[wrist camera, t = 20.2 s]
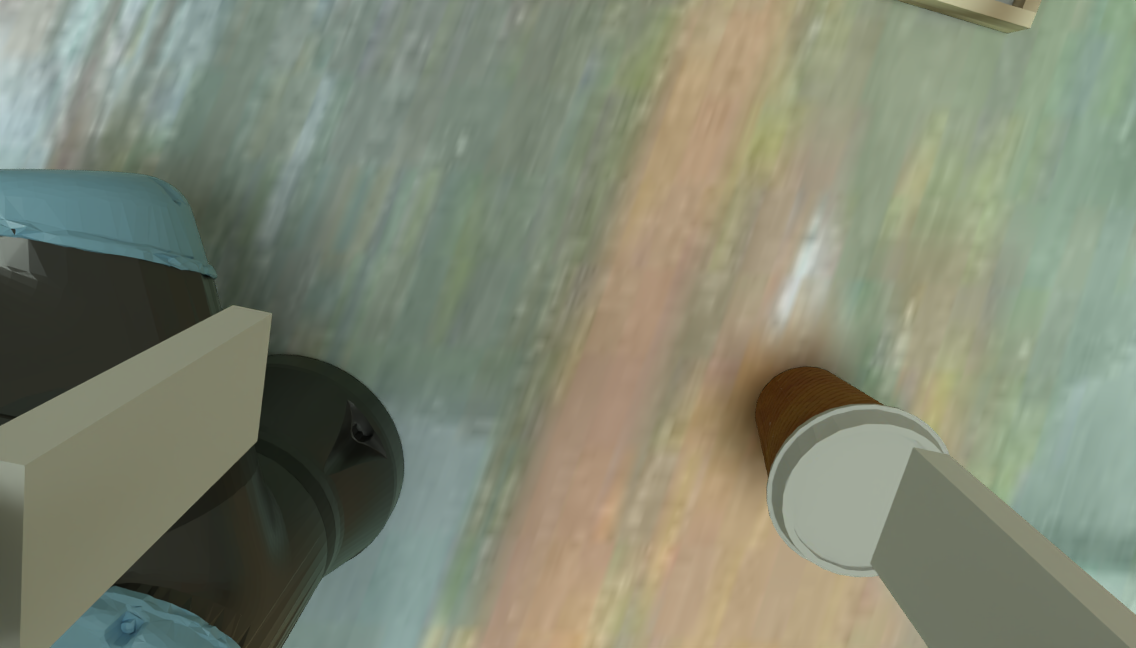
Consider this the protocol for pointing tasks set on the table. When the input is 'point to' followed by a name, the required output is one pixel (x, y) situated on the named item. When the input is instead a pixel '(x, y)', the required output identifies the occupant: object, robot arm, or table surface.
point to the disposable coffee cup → (833, 465)
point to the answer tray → (986, 12)
